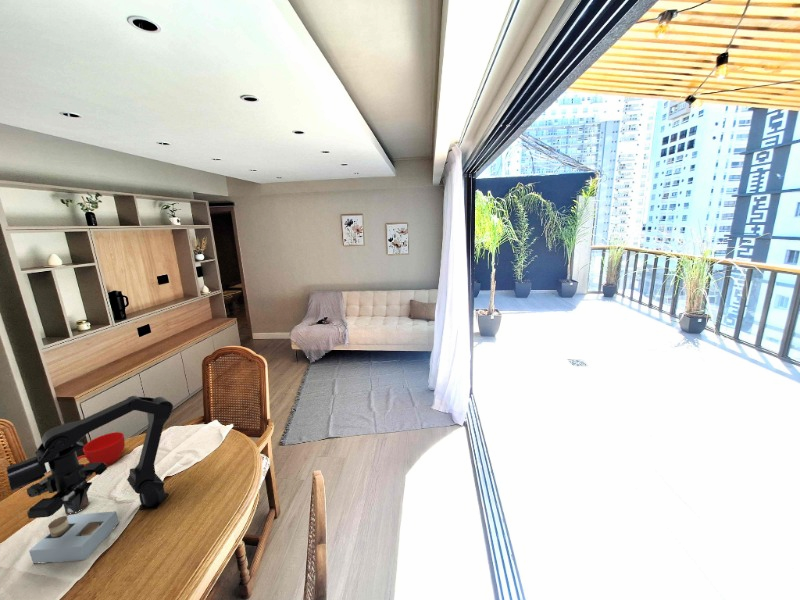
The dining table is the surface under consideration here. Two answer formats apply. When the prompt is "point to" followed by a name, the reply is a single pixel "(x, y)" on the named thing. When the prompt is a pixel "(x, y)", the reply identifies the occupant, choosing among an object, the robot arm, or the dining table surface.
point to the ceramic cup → (104, 448)
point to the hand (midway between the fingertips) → (77, 510)
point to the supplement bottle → (80, 508)
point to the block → (75, 539)
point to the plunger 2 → (89, 529)
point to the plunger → (59, 527)
